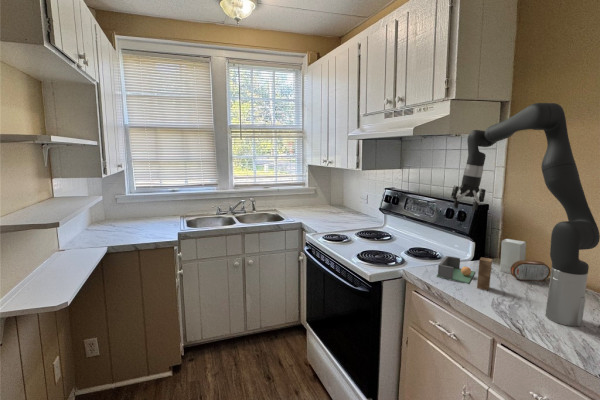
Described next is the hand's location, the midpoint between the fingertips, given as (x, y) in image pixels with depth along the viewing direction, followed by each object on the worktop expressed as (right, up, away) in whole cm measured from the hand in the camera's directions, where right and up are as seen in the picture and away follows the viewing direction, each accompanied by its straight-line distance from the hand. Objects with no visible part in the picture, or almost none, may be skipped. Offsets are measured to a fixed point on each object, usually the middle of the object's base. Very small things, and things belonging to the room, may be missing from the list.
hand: (464, 209), depth 155 cm
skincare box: (+20, -29, -3) cm, 35 cm away
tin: (+22, -31, -11) cm, 39 cm away
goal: (-7, -29, -6) cm, 30 cm away
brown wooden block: (-2, -31, -20) cm, 37 cm away
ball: (-3, -27, -8) cm, 29 cm away
